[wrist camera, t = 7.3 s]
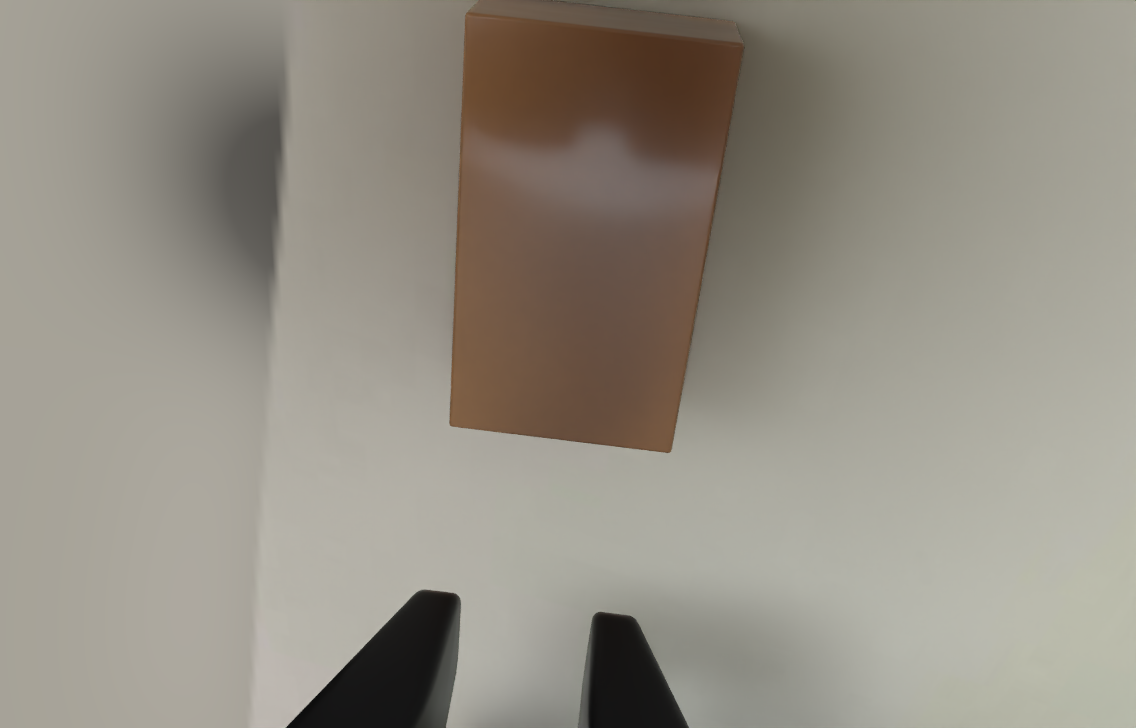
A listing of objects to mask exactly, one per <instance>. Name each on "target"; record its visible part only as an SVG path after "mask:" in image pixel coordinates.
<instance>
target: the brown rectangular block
mask: <svg viewBox="0 0 1136 728" xmlns="http://www.w3.org/2000/svg"><path fill="white" fill-rule="evenodd" d="M743 52H744V43H743V41H742V38H741V36H740V33H739V31H738V29H737V26H736V24H735V22H733V21H727V20H718V19H709V18H700V17H692V16H683V15H674V14H665V13H656V12H647V11H638V10H630V9H621V8H612V7H603V6H594V5H585V4H576V3H567V2H559V1H550V0H478V1H477V2H476V3H475V4H474V5H473V6H472V7H471V8H470V9H469V10H468V12H467V13H466V15H465V34H464V60H463V86H462V112H461V138H460V164H459V190H458V215H457V241H456V267H455V293H454V319H453V345H452V371H451V397H450V422H449V423H450V426H452V427H460V428H469V429H477V430H485V431H493V432H501V433H510V434H518V435H526V436H534V437H542V438H551V439H559V440H567V441H575V442H583V443H592V444H600V445H608V446H616V447H624V448H633V449H641V450H649V451H657V452H665V453H670V452H671V450H672V445H673V439H674V434H675V428H676V423H677V417H678V412H679V406H680V401H681V395H682V390H683V384H684V379H685V373H686V368H687V362H688V356H689V351H690V345H691V340H692V334H693V329H694V323H695V318H696V312H697V307H698V301H699V296H700V290H701V285H702V279H703V274H704V268H705V262H706V257H707V251H708V246H709V240H710V235H711V229H712V224H713V218H714V213H715V207H716V202H717V196H718V191H719V185H720V179H721V174H722V168H723V163H724V157H725V152H726V146H727V141H728V135H729V130H730V124H731V119H732V113H733V108H734V102H735V97H736V91H737V85H738V80H739V74H740V69H741V63H742V58H743Z"/></svg>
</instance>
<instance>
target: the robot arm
mask: <svg viewBox="0 0 1136 728" xmlns="http://www.w3.org/2000/svg"><path fill="white" fill-rule="evenodd" d="M460 612H461V600H460V598H459V596H458V595H456V594H454V593H448V592H440V591H432V590H420V591H418V592H416V593H415V594H414V595H413V596H412V597H411V598H410V599H409V600H408V601H407V603H406V604H405V605H404V606H403V607H402V608H401V609H400V610H399V611H398V612H397V613H396V614H395V615H394V616H393V617H392V618H391V619H390V620H389V621H388V622H387V623H386V624H385V625H384V626H383V627H382V628H381V629H380V631H379V632H378V633H377V634H376V635H375V636H374V637H373V638H372V639H371V640H370V641H369V642H368V643H367V644H366V645H365V646H364V647H363V648H362V649H361V650H360V651H359V652H358V653H357V654H356V655H355V656H354V657H353V659H352V660H351V661H350V662H349V663H348V664H347V665H346V666H345V667H344V668H343V669H342V670H341V671H340V672H339V673H338V674H337V675H336V676H335V677H334V678H333V679H332V680H331V681H330V682H329V683H328V684H327V685H326V687H325V688H324V689H323V690H322V691H321V692H320V693H319V694H318V695H317V696H316V697H315V698H314V699H313V700H312V701H311V702H310V703H309V704H308V705H307V706H306V707H305V708H304V709H303V710H302V711H301V712H300V714H299V715H298V716H297V717H296V718H295V719H294V720H293V721H292V722H291V723H290V724H289V725H288V726H287V727H286V728H446V723H447V718H448V713H449V708H450V702H451V697H452V692H453V686H454V681H455V675H456V669H457V661H458V649H459V630H460ZM578 728H689V727H688V725H687V723H686V721H685V719H684V717H683V715H682V712H681V710H680V708H679V706H678V704H677V702H676V700H675V698H674V696H673V694H672V692H671V690H670V688H669V686H668V684H667V681H666V679H665V677H664V675H663V673H662V671H661V669H660V667H659V665H658V663H657V661H656V659H655V657H654V655H653V653H652V650H651V648H650V646H649V644H648V642H647V640H646V638H645V636H644V634H643V632H642V630H641V628H640V626H639V624H638V622H637V621H636V619H635V618H633V617H632V616H628V615H620V614H612V613H605V612H598V613H596V614H595V615H594V616H593V618H592V622H591V629H590V635H589V642H588V649H587V656H586V662H585V669H584V676H583V685H582V694H581V704H580V714H579V724H578Z"/></svg>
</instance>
